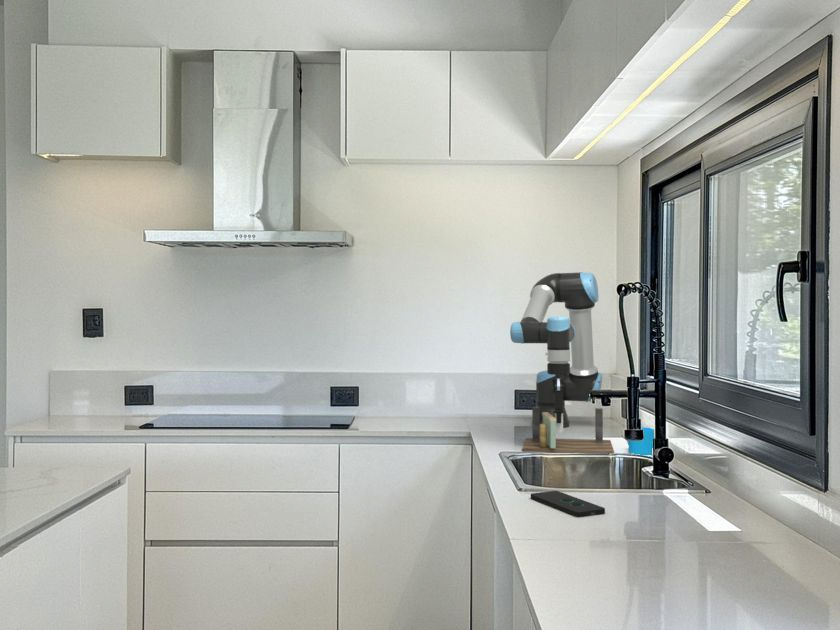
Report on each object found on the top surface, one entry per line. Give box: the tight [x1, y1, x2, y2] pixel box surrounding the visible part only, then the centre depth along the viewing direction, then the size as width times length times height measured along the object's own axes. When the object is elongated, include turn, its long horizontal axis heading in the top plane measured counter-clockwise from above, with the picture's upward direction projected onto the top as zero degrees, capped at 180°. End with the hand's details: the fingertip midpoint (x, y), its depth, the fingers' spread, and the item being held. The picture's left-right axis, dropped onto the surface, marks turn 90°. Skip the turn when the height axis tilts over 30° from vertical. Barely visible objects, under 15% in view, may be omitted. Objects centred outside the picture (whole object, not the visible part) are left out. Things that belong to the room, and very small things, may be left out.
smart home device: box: [530, 490, 606, 518], centre depth 180 cm, size 8×2×20 cm
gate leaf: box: [542, 412, 557, 448], centre depth 258 cm, size 2×18×10 cm, turn 0°
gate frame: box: [521, 406, 615, 454], centre depth 261 cm, size 23×30×13 cm
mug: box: [626, 426, 655, 456], centre depth 249 cm, size 12×8×8 cm
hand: (559, 432), depth 253 cm, fingers closed
